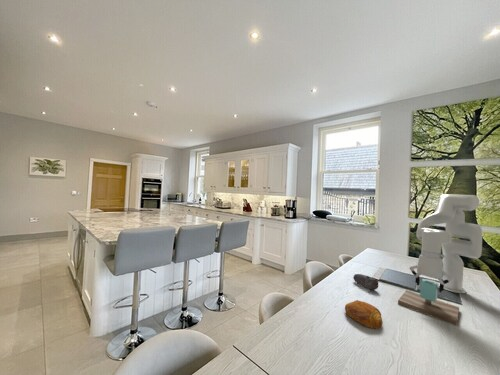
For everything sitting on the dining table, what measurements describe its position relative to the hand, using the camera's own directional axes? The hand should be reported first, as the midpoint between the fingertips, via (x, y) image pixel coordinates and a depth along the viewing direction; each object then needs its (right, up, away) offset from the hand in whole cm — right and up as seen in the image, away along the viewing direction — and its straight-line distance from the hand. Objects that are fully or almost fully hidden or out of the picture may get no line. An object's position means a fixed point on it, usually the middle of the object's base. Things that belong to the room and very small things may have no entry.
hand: (428, 287), depth 109 cm
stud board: (0, -10, 0) cm, 10 cm away
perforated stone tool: (-22, -9, +21) cm, 32 cm away
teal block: (0, -5, 0) cm, 5 cm away
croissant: (-40, -8, -12) cm, 43 cm away
